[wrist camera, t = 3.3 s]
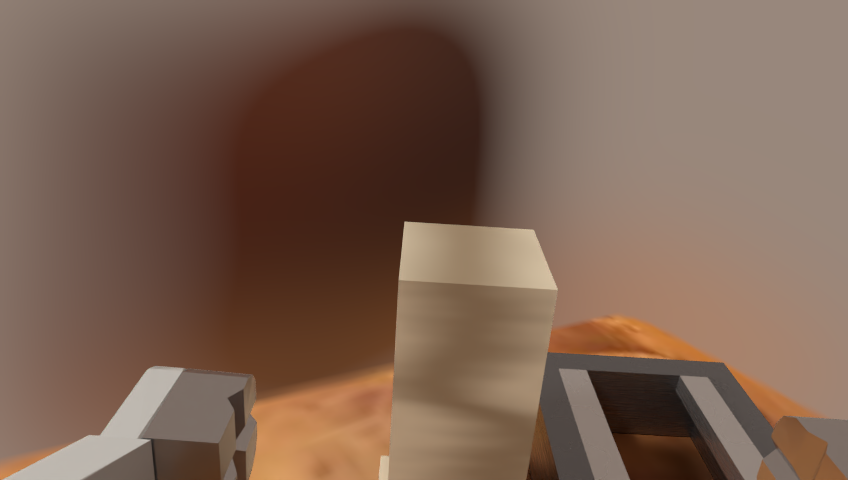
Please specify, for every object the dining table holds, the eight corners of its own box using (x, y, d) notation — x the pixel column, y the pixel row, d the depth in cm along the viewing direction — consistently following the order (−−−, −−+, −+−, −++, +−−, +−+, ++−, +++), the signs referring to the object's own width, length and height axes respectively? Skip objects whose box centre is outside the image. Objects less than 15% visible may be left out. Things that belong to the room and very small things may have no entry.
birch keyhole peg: (503, 495, 30) (544, 225, 25) (520, 611, 25) (577, 298, 19) (379, 488, 30) (392, 216, 25) (368, 603, 25) (381, 286, 19)
